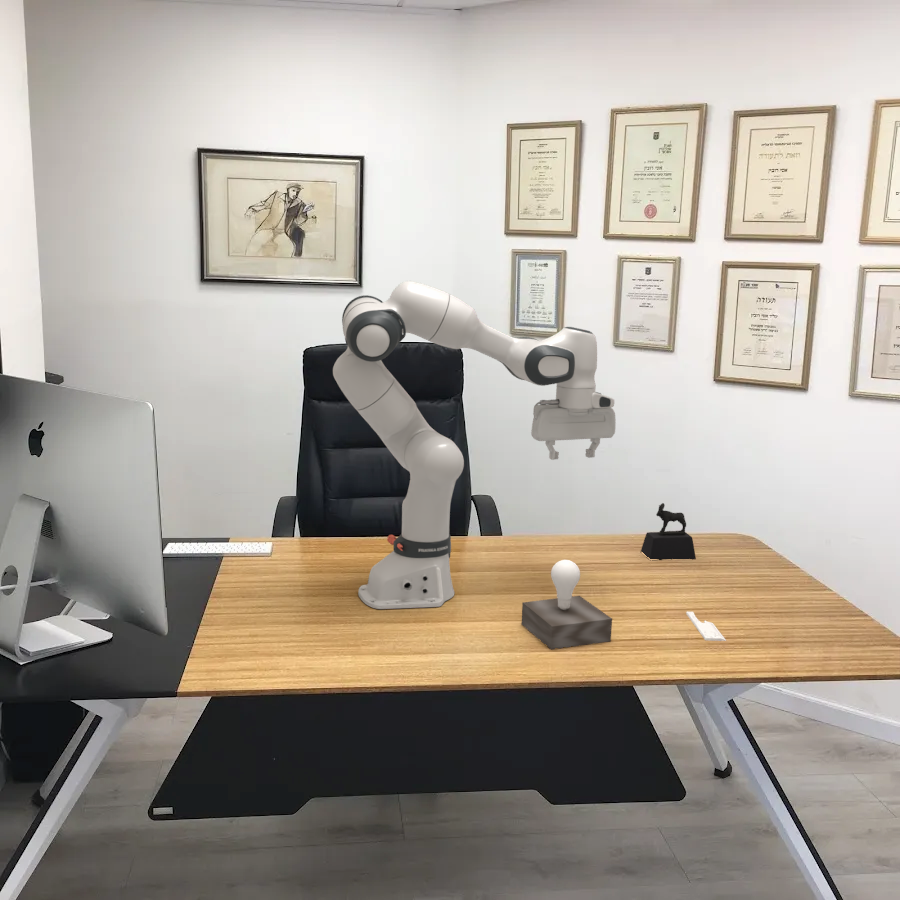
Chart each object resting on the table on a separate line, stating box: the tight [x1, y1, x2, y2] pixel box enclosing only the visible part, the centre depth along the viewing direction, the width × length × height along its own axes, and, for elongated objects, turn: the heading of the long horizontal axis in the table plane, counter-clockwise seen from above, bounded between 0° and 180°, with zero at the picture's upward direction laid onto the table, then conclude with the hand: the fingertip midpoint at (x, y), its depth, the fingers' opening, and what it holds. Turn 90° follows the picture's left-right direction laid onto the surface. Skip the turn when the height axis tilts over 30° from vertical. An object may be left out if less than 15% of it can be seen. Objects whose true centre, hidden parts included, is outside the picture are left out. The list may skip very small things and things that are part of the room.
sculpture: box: [640, 502, 697, 560], centre depth 251 cm, size 8×13×15 cm, turn 97°
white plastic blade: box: [685, 611, 727, 642], centre depth 204 cm, size 5×15×1 cm, turn 1°
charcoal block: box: [521, 595, 613, 650], centre depth 198 cm, size 14×14×5 cm
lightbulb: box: [550, 559, 581, 610], centre depth 197 cm, size 6×6×11 cm
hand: (572, 458), depth 215 cm, fingers open, 8 cm apart
